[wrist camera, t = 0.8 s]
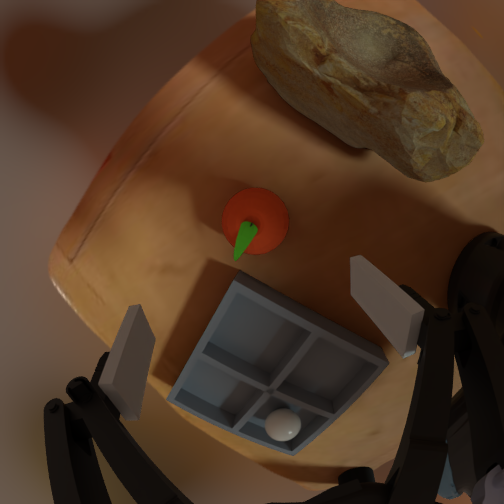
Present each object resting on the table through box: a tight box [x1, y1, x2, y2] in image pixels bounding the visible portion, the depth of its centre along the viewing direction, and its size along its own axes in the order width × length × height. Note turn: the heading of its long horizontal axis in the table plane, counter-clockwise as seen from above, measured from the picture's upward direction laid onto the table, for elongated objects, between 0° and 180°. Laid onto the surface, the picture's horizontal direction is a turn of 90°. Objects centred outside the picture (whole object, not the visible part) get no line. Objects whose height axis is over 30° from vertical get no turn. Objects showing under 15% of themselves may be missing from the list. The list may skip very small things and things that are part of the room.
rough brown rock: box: [251, 0, 484, 182], centre depth 20 cm, size 23×17×15 cm
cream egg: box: [265, 408, 301, 441], centre depth 34 cm, size 5×5×5 cm
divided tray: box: [166, 270, 389, 456], centre depth 34 cm, size 22×22×4 cm
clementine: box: [222, 188, 289, 261], centre depth 29 cm, size 8×7×7 cm
